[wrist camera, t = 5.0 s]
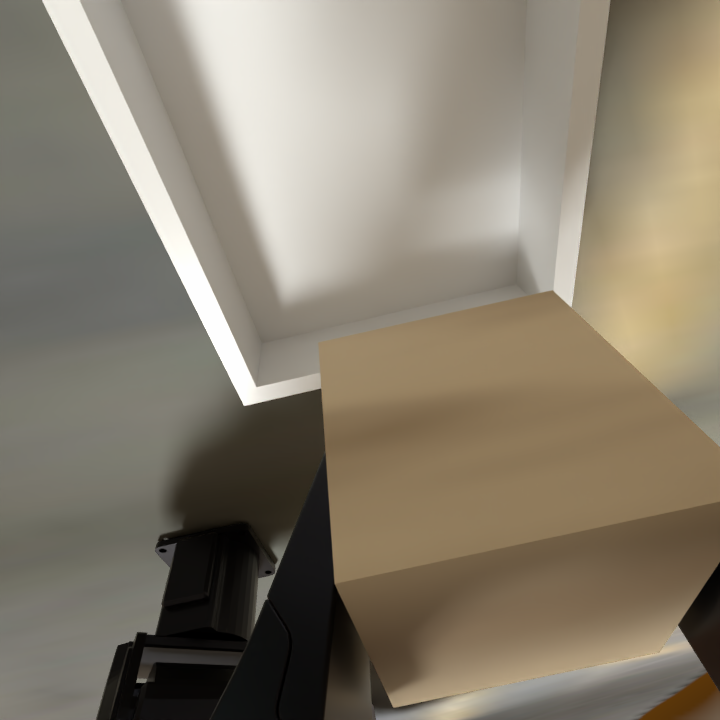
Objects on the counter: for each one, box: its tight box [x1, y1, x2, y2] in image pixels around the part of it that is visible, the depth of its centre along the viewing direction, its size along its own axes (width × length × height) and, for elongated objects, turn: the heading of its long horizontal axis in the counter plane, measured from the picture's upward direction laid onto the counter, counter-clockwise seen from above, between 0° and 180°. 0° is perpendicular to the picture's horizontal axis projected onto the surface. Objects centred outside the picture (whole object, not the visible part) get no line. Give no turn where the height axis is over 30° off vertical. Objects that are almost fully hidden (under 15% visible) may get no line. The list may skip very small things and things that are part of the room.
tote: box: [42, 0, 611, 406], centre depth 14 cm, size 16×14×4 cm
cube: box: [318, 290, 720, 708], centre depth 8 cm, size 5×5×5 cm
